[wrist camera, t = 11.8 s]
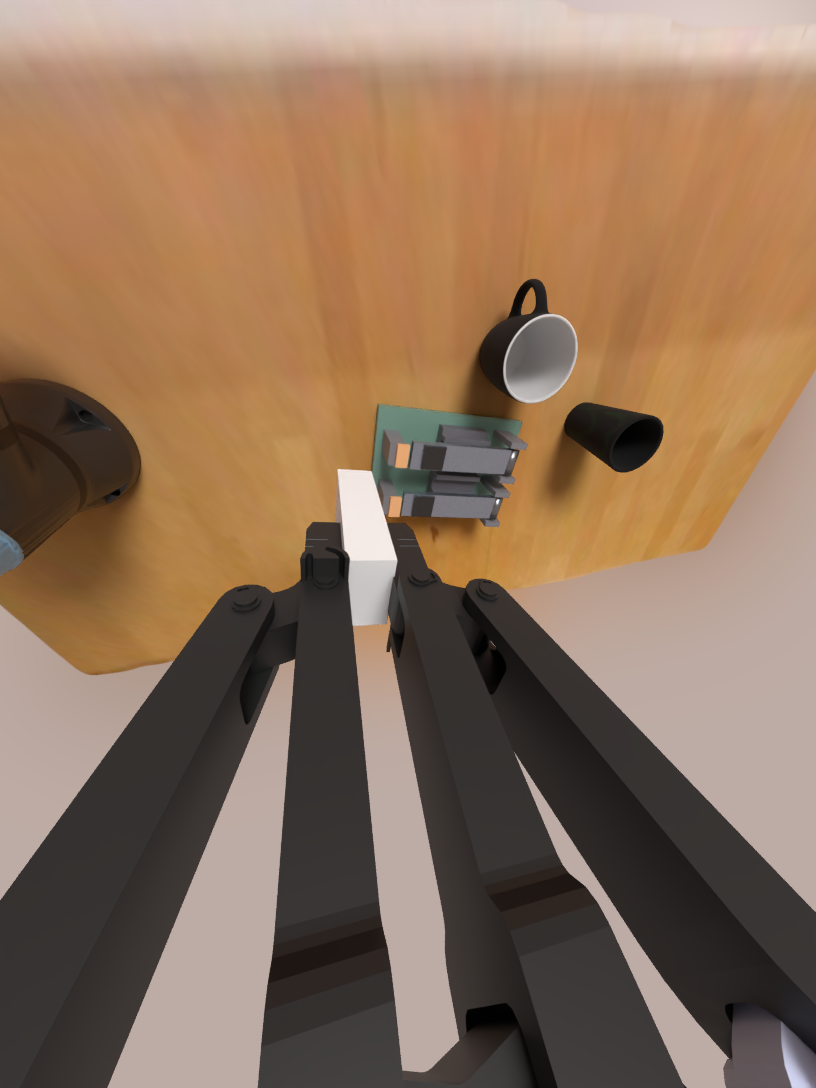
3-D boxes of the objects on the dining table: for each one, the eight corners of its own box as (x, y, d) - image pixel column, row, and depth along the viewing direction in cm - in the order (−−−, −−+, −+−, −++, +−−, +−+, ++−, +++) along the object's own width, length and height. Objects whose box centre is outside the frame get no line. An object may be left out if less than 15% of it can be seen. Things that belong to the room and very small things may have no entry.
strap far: (399, 511, 50) (401, 517, 49) (402, 489, 48) (405, 495, 47) (493, 514, 54) (498, 519, 53) (500, 494, 52) (505, 499, 51)
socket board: (368, 506, 55) (373, 531, 49) (377, 403, 46) (386, 419, 40) (489, 510, 60) (507, 533, 54) (518, 420, 51) (544, 435, 45)
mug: (526, 385, 49) (566, 401, 41) (468, 389, 47) (497, 406, 39) (544, 281, 42) (597, 275, 34) (476, 282, 40) (515, 276, 32)
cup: (549, 437, 54) (597, 466, 45) (575, 388, 50) (634, 408, 41) (585, 448, 57) (637, 477, 47) (612, 403, 53) (675, 424, 43)
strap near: (407, 465, 46) (410, 470, 44) (411, 439, 44) (414, 443, 42) (508, 471, 50) (513, 475, 49) (516, 447, 48) (522, 452, 47)
